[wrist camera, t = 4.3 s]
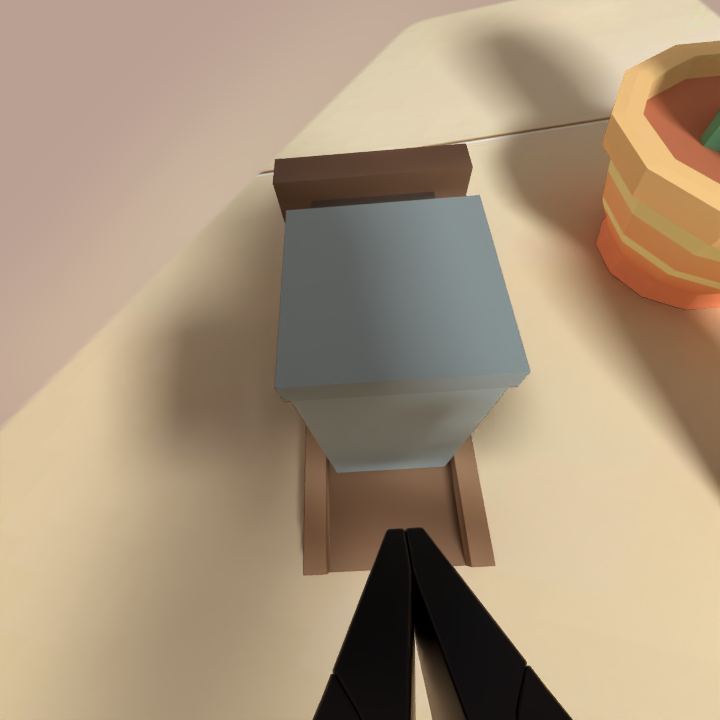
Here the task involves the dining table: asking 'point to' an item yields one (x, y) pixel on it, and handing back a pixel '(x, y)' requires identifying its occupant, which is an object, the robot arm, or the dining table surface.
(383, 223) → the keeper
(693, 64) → the potted cactus
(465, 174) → the track
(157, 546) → the dining table surface
